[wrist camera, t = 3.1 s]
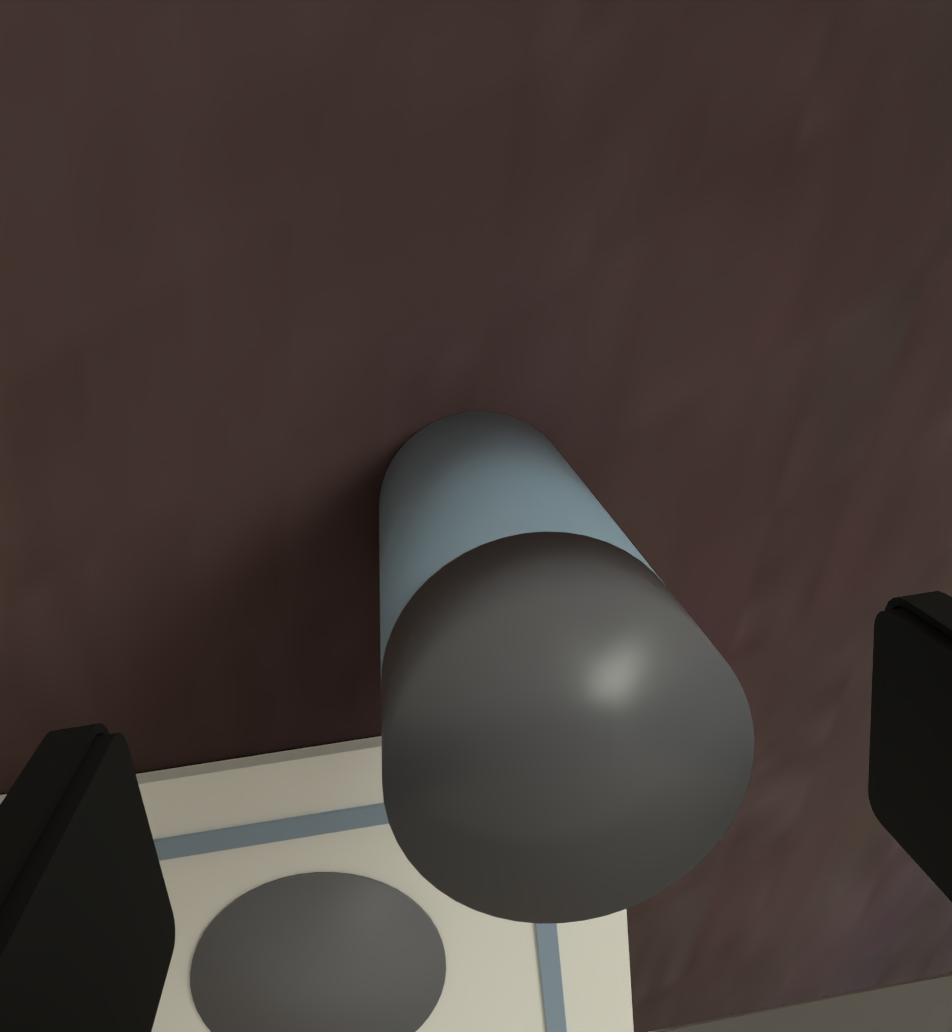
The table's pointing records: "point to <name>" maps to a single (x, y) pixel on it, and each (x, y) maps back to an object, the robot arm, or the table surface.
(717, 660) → the gray blue rounded cylinder
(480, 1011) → the cream rectangular board
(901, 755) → the robot arm
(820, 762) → the table surface
